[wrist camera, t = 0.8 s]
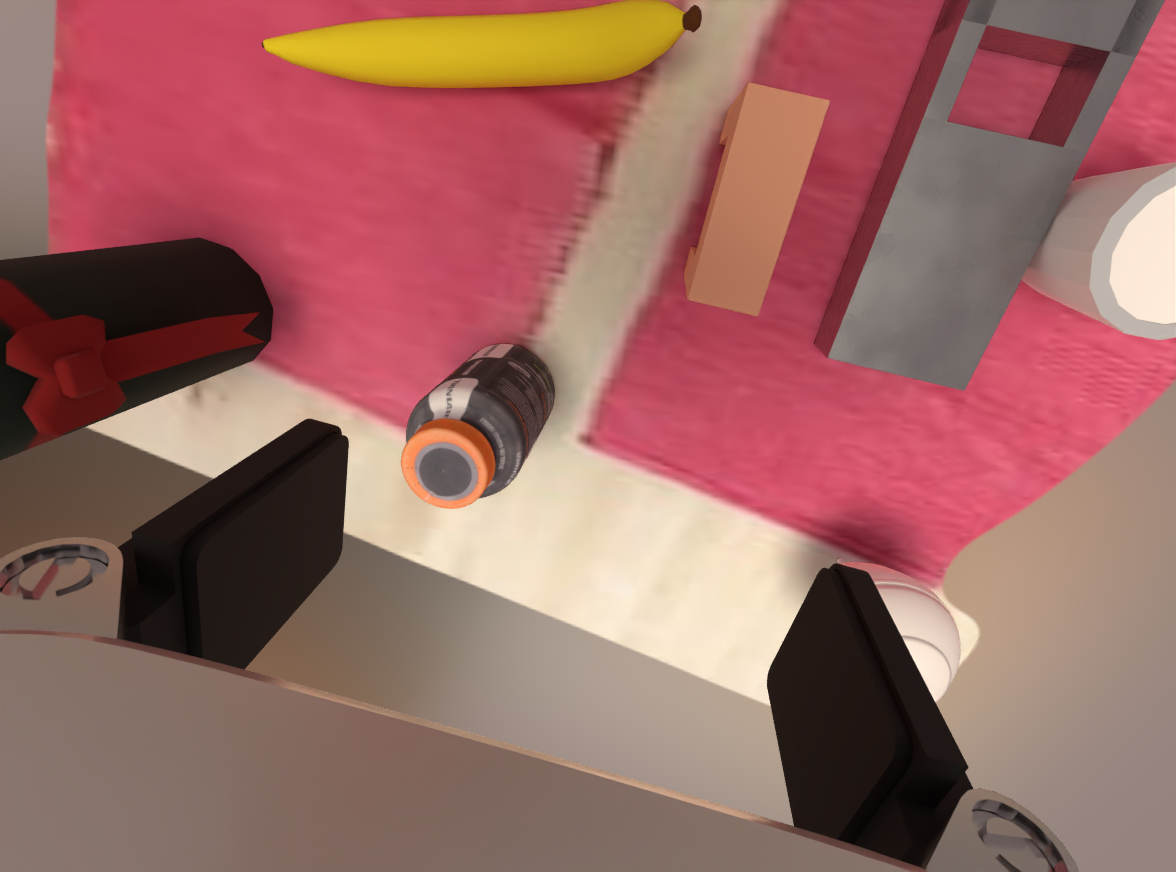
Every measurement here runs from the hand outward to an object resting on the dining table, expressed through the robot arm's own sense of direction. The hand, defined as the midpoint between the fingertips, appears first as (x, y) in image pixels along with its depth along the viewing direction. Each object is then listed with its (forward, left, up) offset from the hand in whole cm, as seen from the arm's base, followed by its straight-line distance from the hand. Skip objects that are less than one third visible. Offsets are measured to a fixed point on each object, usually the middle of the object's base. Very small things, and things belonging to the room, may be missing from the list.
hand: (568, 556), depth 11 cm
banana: (-11, -9, -24) cm, 28 cm away
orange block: (-7, +4, -24) cm, 25 cm away
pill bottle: (+6, -6, -24) cm, 25 cm away
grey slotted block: (-12, +14, -24) cm, 30 cm away
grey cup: (-9, +20, -24) cm, 32 cm away
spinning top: (+12, +17, -24) cm, 31 cm away
